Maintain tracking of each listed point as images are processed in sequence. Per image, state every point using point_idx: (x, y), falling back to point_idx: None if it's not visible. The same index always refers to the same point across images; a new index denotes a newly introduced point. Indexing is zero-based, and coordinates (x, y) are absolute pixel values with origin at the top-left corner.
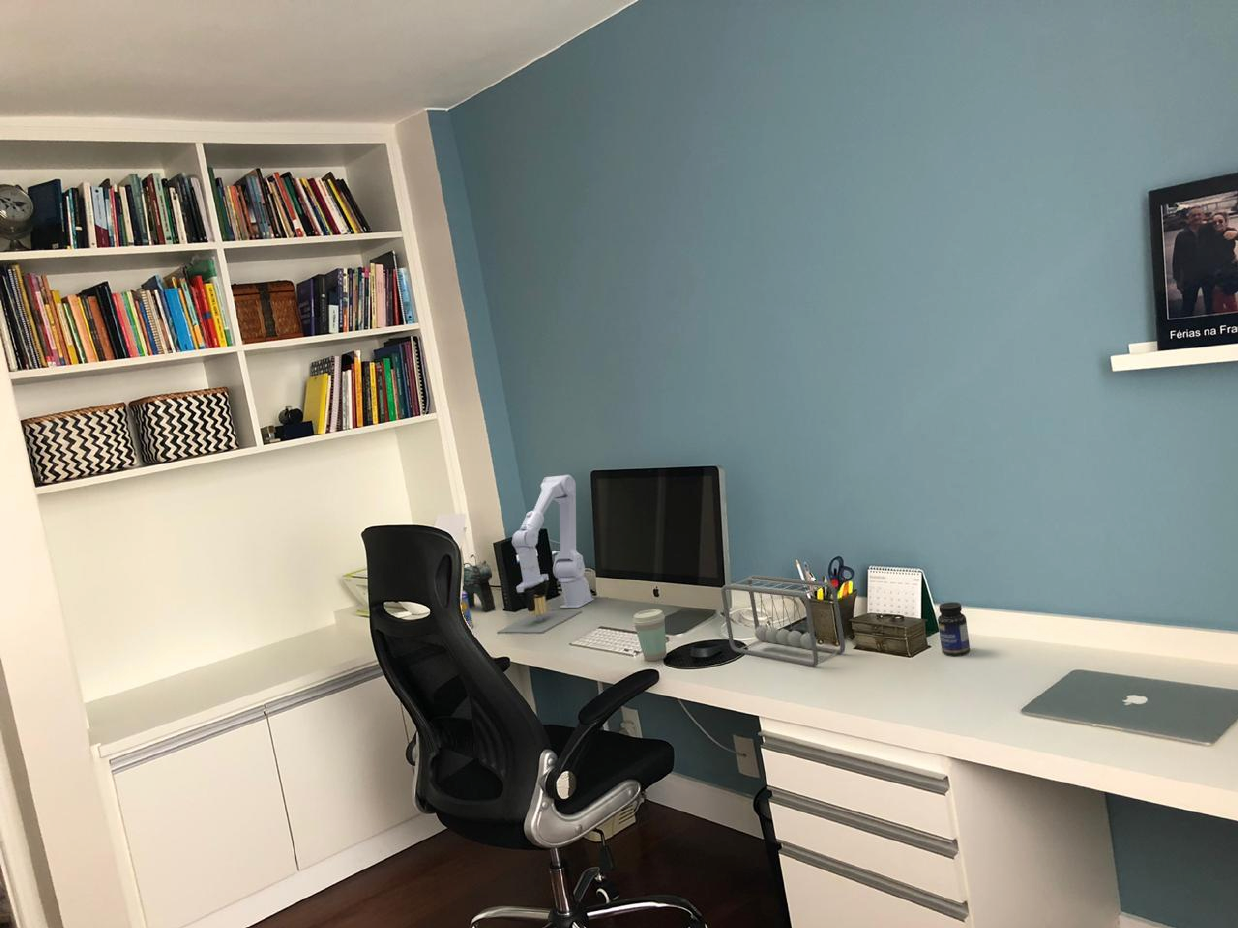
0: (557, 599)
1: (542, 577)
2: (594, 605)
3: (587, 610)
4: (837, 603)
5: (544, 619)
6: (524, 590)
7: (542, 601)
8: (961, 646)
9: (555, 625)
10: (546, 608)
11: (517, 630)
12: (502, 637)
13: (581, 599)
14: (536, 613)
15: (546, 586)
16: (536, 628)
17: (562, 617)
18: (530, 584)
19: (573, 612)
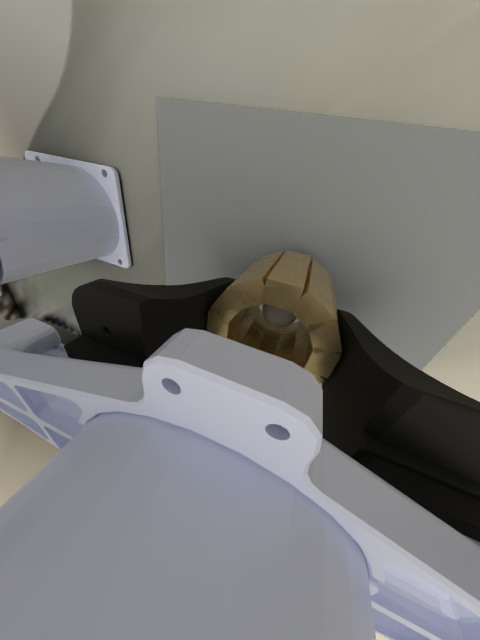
0: (72, 310)
1: (62, 395)
2: (71, 86)
3: (137, 73)
4: None
5: None
6: (477, 518)
7: (303, 275)
8: None
9: (429, 128)
10: (276, 254)
11: (413, 344)
12: (473, 384)
13: (62, 167)
14: (334, 295)
15: (153, 293)
16: (444, 250)
17: (263, 168)
18: (470, 558)
19: (185, 142)
